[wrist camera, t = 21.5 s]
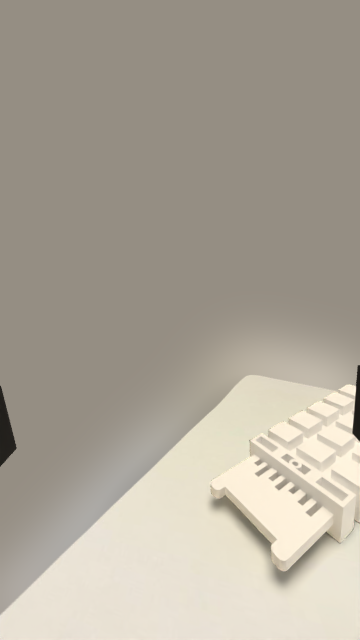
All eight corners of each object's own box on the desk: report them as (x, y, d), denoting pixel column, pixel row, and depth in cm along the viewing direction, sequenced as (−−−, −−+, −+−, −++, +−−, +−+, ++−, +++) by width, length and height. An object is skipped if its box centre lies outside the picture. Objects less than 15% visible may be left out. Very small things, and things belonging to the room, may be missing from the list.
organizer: (438, 414, 41) (291, 557, 24) (433, 441, 42) (291, 597, 25) (348, 384, 52) (203, 466, 35) (346, 406, 53) (205, 496, 36)
